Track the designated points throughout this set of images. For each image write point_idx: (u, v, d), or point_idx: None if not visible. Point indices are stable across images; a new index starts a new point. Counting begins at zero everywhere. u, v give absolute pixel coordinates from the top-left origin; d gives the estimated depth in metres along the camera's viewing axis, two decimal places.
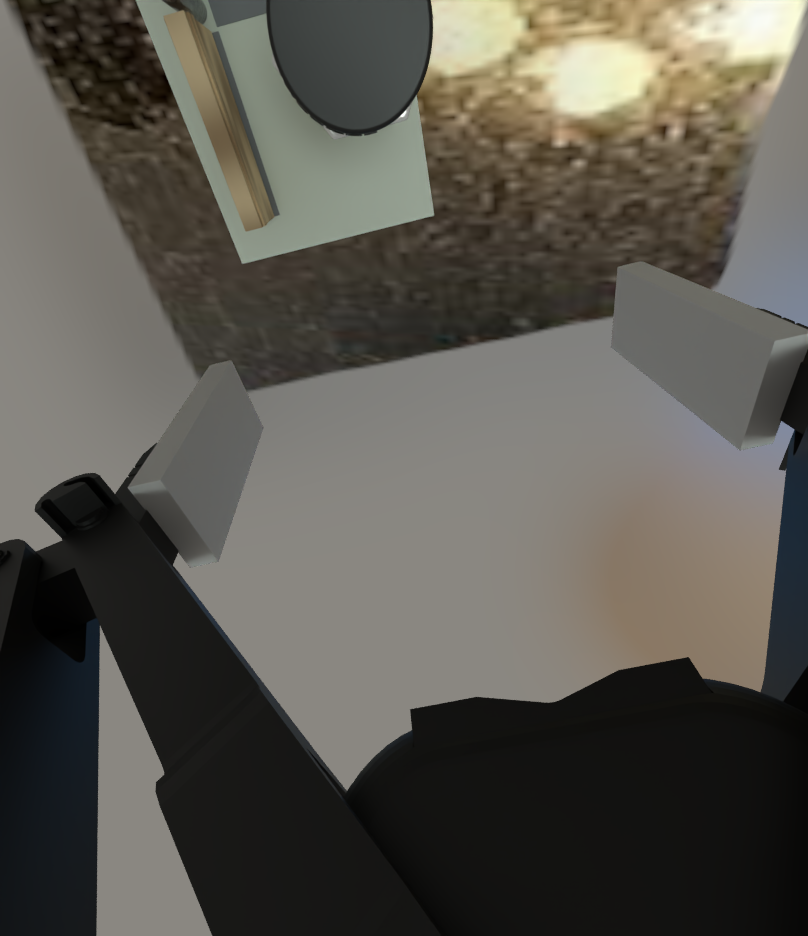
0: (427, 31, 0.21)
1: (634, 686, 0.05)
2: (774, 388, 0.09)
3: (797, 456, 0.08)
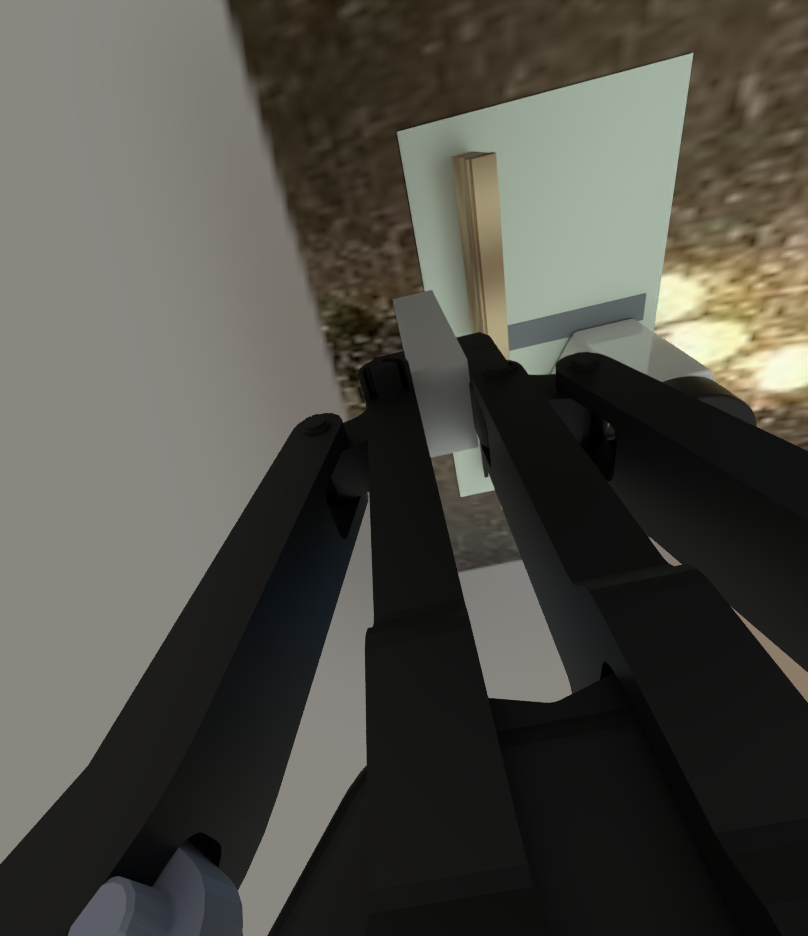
0: None
1: None
2: (456, 403, 0.12)
3: (494, 468, 0.10)
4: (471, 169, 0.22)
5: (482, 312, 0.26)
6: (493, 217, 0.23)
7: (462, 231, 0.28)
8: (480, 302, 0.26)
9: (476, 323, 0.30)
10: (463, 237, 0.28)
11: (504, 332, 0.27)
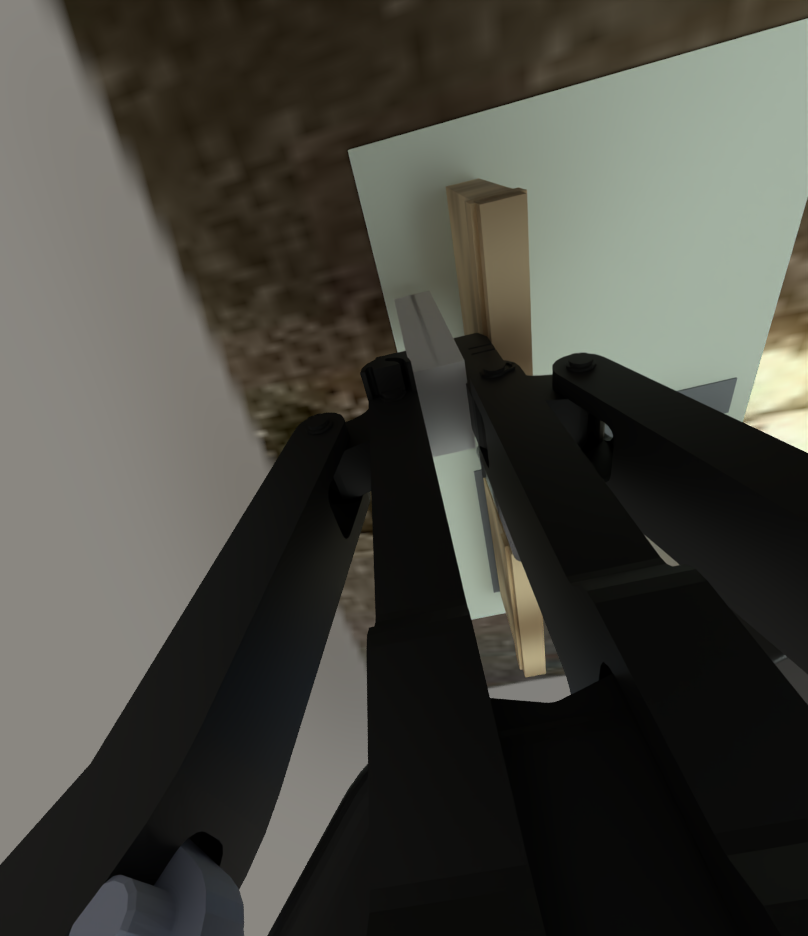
0: None
1: None
2: (454, 404, 0.12)
3: (491, 469, 0.10)
4: (479, 221, 0.11)
5: None
6: (518, 305, 0.13)
7: (463, 303, 0.17)
8: None
9: None
10: (465, 313, 0.17)
11: None
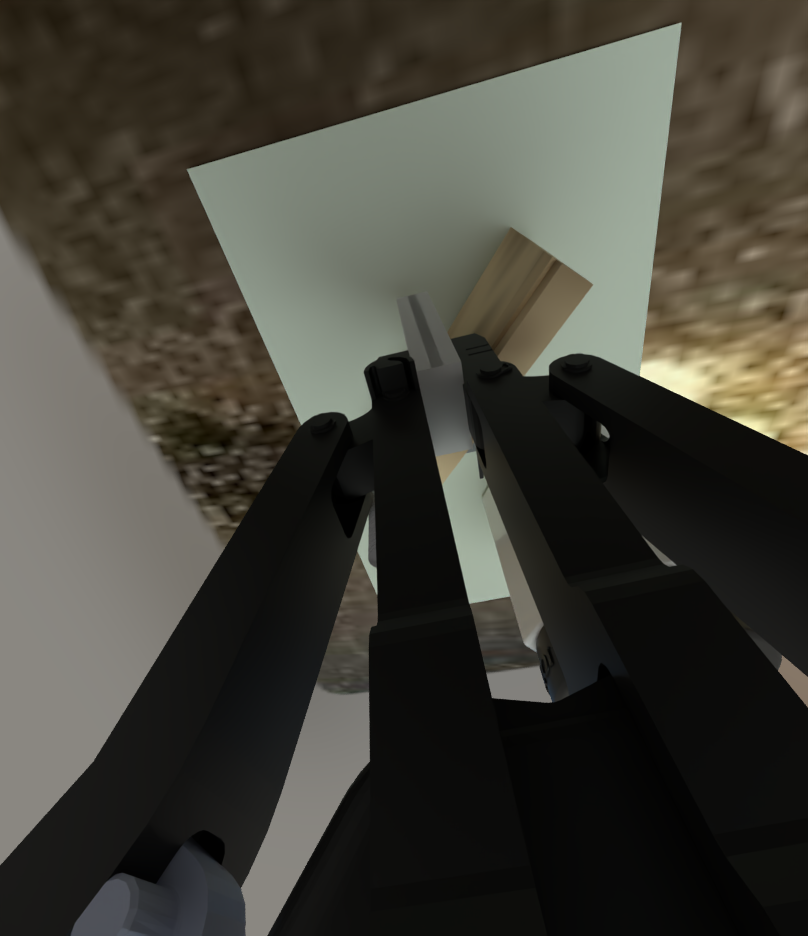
0: None
1: None
2: (451, 404, 0.12)
3: (489, 470, 0.10)
4: (549, 275, 0.13)
5: None
6: (525, 358, 0.14)
7: (459, 324, 0.18)
8: None
9: None
10: (455, 332, 0.18)
11: None
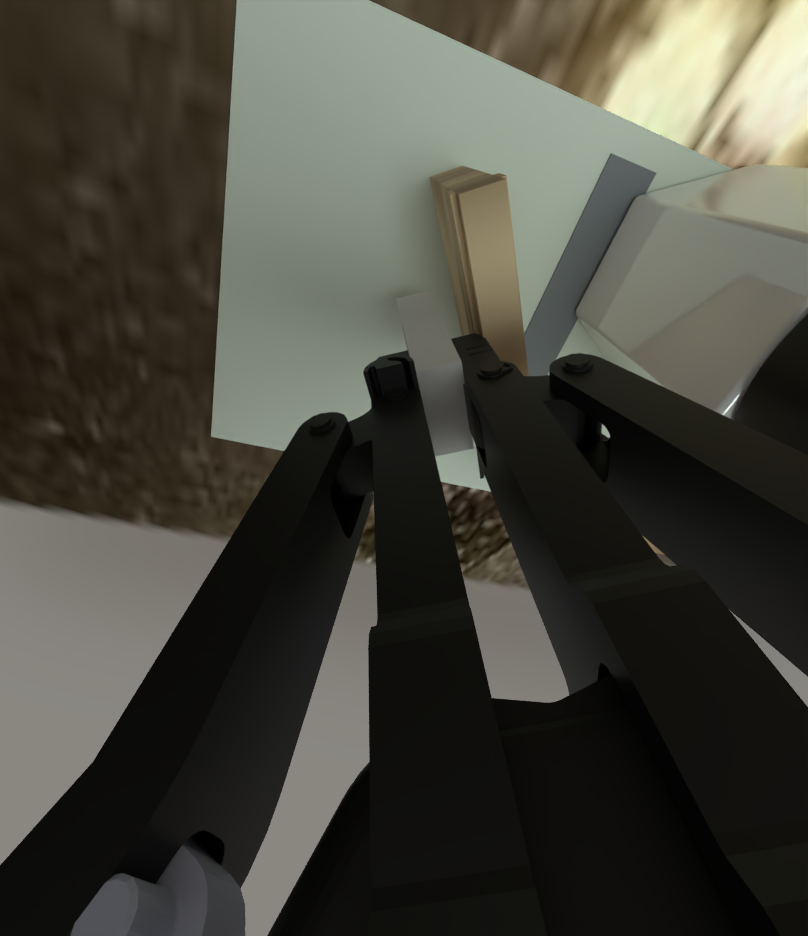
0: None
1: None
2: (451, 404, 0.12)
3: (489, 469, 0.10)
4: (460, 211, 0.11)
5: None
6: (506, 292, 0.12)
7: (455, 293, 0.17)
8: None
9: None
10: (457, 302, 0.17)
11: None
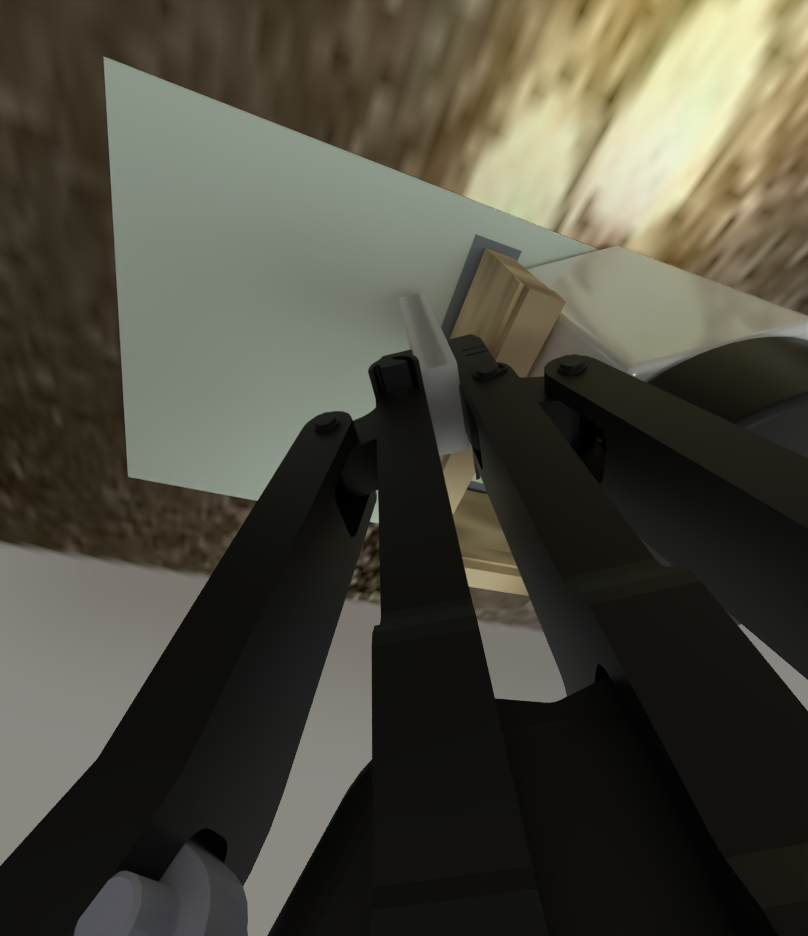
0: None
1: None
2: (447, 405, 0.12)
3: (485, 471, 0.10)
4: (520, 300, 0.13)
5: None
6: None
7: None
8: None
9: None
10: None
11: None
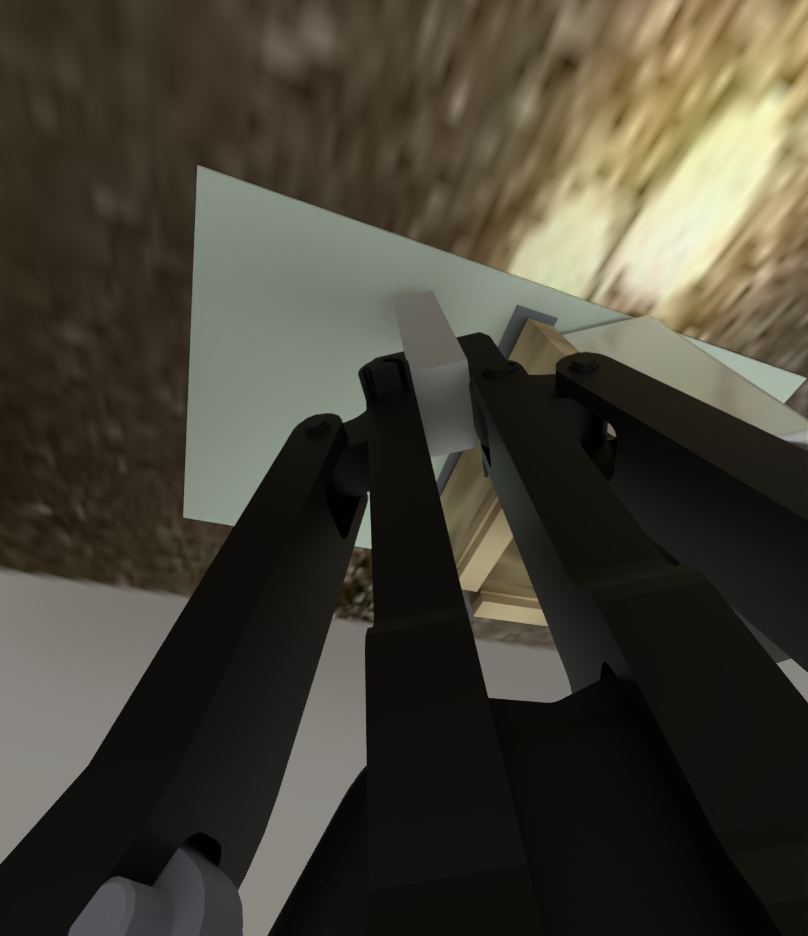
0: None
1: None
2: (457, 403, 0.12)
3: (494, 468, 0.10)
4: None
5: (478, 529, 0.19)
6: None
7: None
8: (482, 517, 0.18)
9: (453, 512, 0.22)
10: None
11: (491, 564, 0.19)
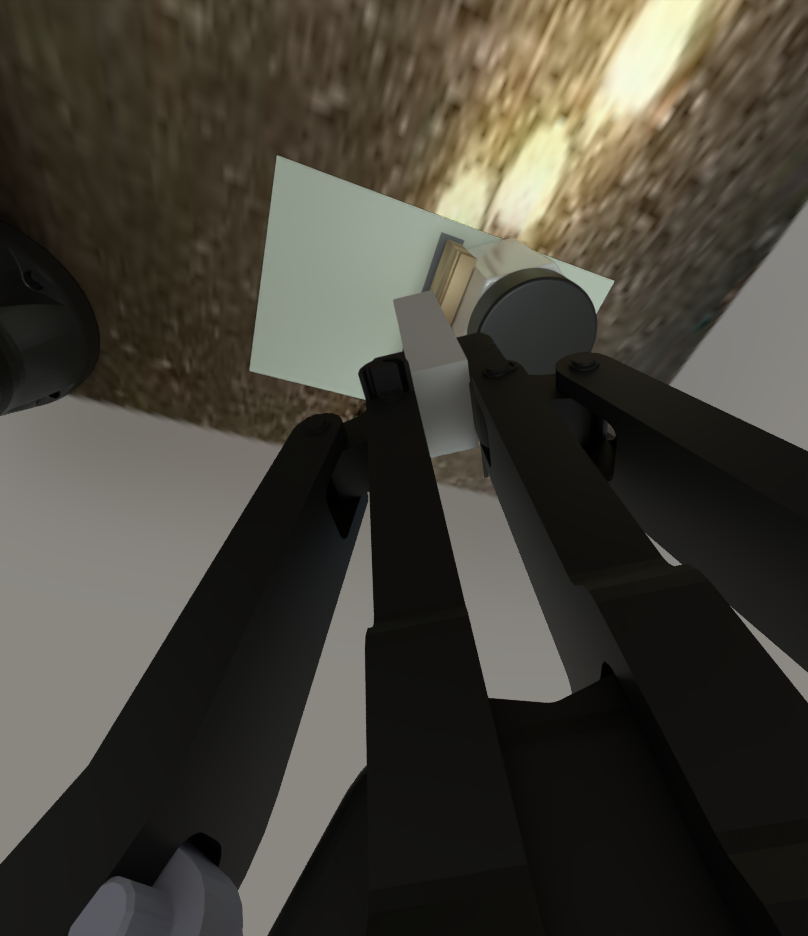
0: (575, 290, 0.26)
1: None
2: (456, 403, 0.12)
3: (494, 468, 0.10)
4: (458, 258, 0.30)
5: None
6: (457, 296, 0.32)
7: None
8: None
9: None
10: None
11: None
